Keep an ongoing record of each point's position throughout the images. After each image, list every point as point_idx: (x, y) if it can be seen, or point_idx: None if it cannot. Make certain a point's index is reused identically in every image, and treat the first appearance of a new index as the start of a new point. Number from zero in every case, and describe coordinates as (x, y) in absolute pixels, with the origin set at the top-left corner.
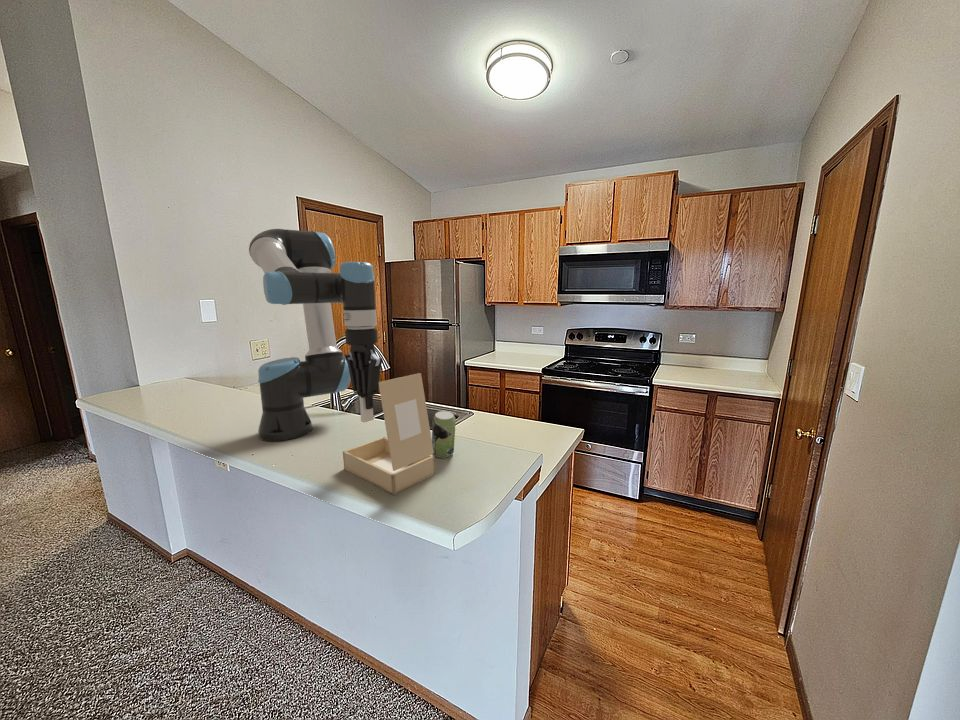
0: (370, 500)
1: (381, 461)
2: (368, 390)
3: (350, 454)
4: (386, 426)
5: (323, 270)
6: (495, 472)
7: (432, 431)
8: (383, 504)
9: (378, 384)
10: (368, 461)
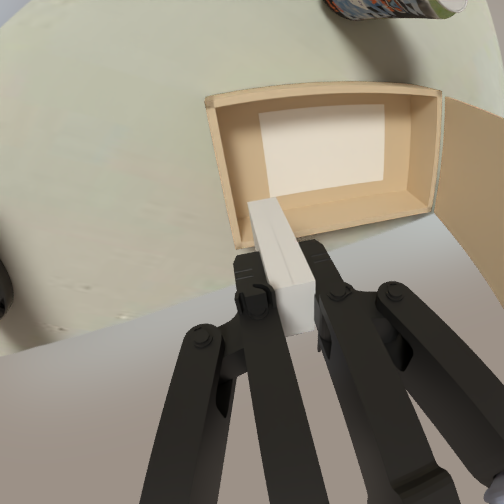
0: (388, 227)
1: (273, 140)
2: (393, 352)
3: None
4: (486, 277)
5: None
6: (470, 21)
7: (385, 7)
8: (411, 217)
9: (449, 330)
10: (243, 165)
